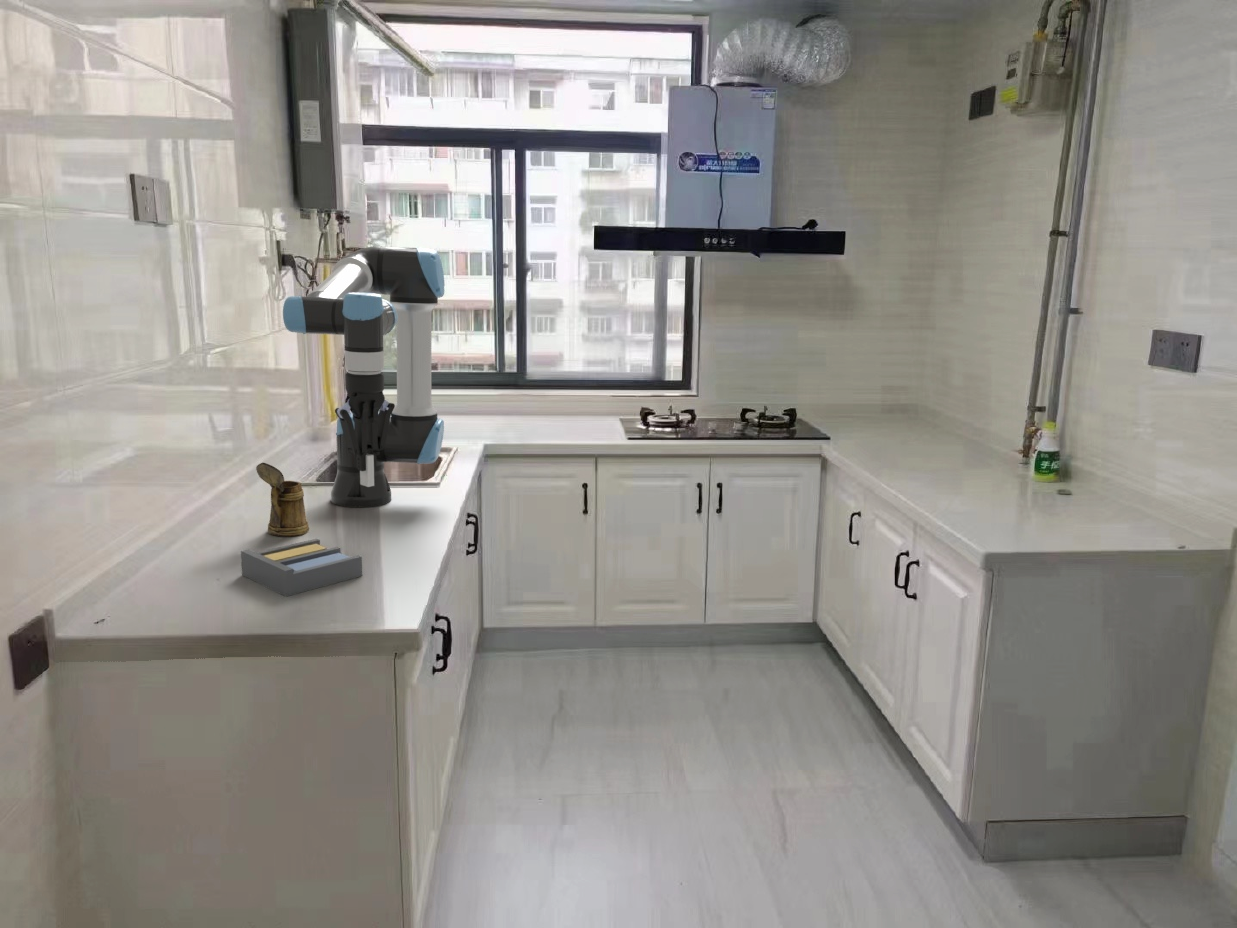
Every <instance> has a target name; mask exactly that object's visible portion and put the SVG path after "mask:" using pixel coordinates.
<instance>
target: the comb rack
mask: <svg viewBox="0 0 1237 928" xmlns="http://www.w3.org/2000/svg"><path fill="white" fill-rule="evenodd" d="M313 544H318V545H321V540H320V539H318V538H314V539H309V540H305V541H304V540H303V541H301V542H295V543H291V544H287V545H283V546H278V547H274V548H269V549H266V550H264V549H263V550H261V551H257V552H256V551H254V550H251V549H249V548H247V549H243V550H241V551H240V557H241V558H240V560H241V561H240V562H241V576H243V577H245V578H246V579H250V580H251V581H253V582H255V583H257V584H260V585H261V586H263V587H265V588H267V589H270V590H272V591H274V592H275V593H279V594H280V595H283V596H284V597H290V596H294V595H297V594H301V593H304V592H307V591H310V590H311V591H312V590H314V589H318V588H323V587H325V586H329V585H333V584H337V583H340V582H343V581H344V582H345V581H348V580H351V579H355V578H358V577H362V576H363V556H361V555H359V554H358V555H354V556H349V558H345V559H341V560H337V561H333V562H329V563H325V564H321V565H318V566H314V567H310V568H306V569H302V570H298V571H294V572H293V569H292V568H290V567H288V566H286V565H290V564H295V563H299V562H303V561H307V560H311V559H315V558H319V557H324V556H328V555H332V554H336V553H341V548H340V547H339V546H335V547H330V548H327V549H325V550H321V551H317V552H313V553H309V554H304V555H300V556H296V557H292V558H288V559H284V560H279V561H274V560H272V559H270V558H267V557H265V556H264V555H269V554H273V553H277V552H282V551H286V550H291V549H295V548H299V547H304V546H308V545H313Z"/></svg>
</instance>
